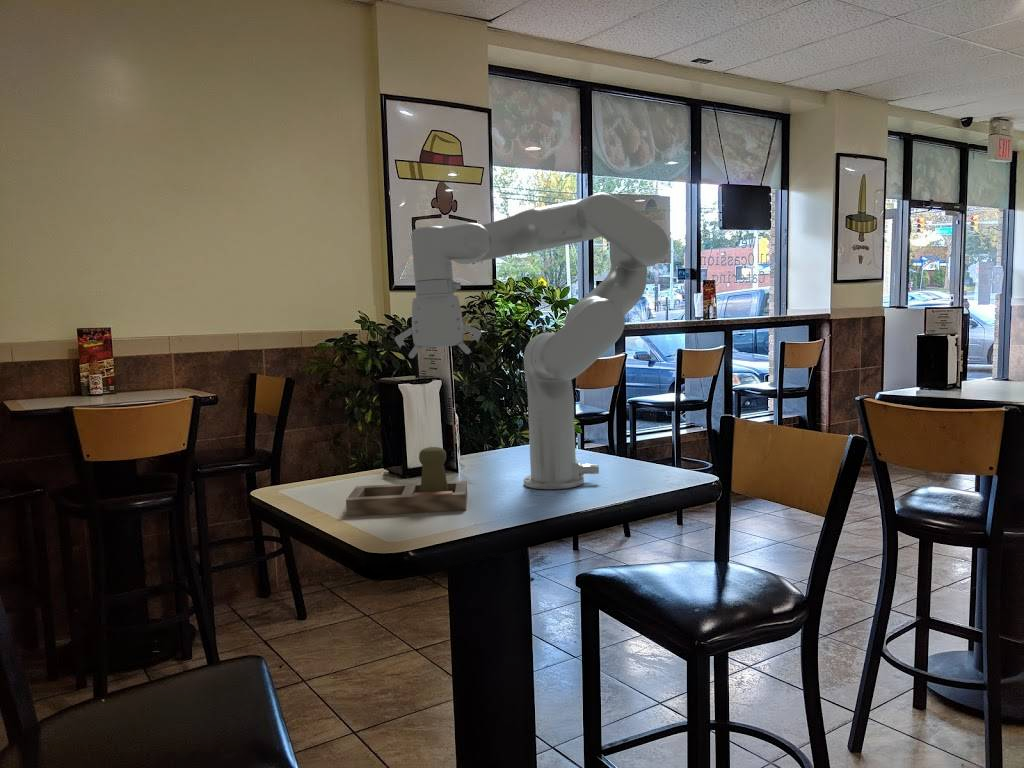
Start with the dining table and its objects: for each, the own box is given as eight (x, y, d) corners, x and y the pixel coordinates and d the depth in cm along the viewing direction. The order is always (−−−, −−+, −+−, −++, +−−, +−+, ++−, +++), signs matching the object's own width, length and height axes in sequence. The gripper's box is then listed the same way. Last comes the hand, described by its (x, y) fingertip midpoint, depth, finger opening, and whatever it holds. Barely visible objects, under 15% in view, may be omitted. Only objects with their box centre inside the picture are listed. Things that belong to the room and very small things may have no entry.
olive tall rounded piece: (446, 507, 150) (443, 450, 149) (415, 507, 151) (412, 450, 150) (454, 500, 156) (451, 444, 155) (424, 500, 157) (421, 445, 156)
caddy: (467, 495, 159) (466, 479, 159) (466, 510, 147) (465, 492, 147) (357, 500, 159) (356, 484, 158) (346, 516, 147) (345, 498, 146)
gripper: (477, 287, 162) (483, 371, 164) (391, 293, 161) (398, 377, 162) (479, 286, 155) (485, 373, 156) (389, 292, 153) (397, 380, 155)
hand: (441, 375), depth 159 cm, fingers open, 9 cm apart
